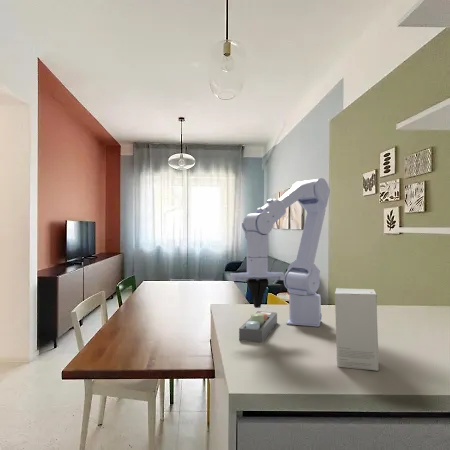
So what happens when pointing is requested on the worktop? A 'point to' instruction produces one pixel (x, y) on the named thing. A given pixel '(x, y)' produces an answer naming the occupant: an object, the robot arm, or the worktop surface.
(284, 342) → the worktop surface
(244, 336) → the console
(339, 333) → the skincare box
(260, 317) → the sage button
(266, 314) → the terracotta button
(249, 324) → the blue button
